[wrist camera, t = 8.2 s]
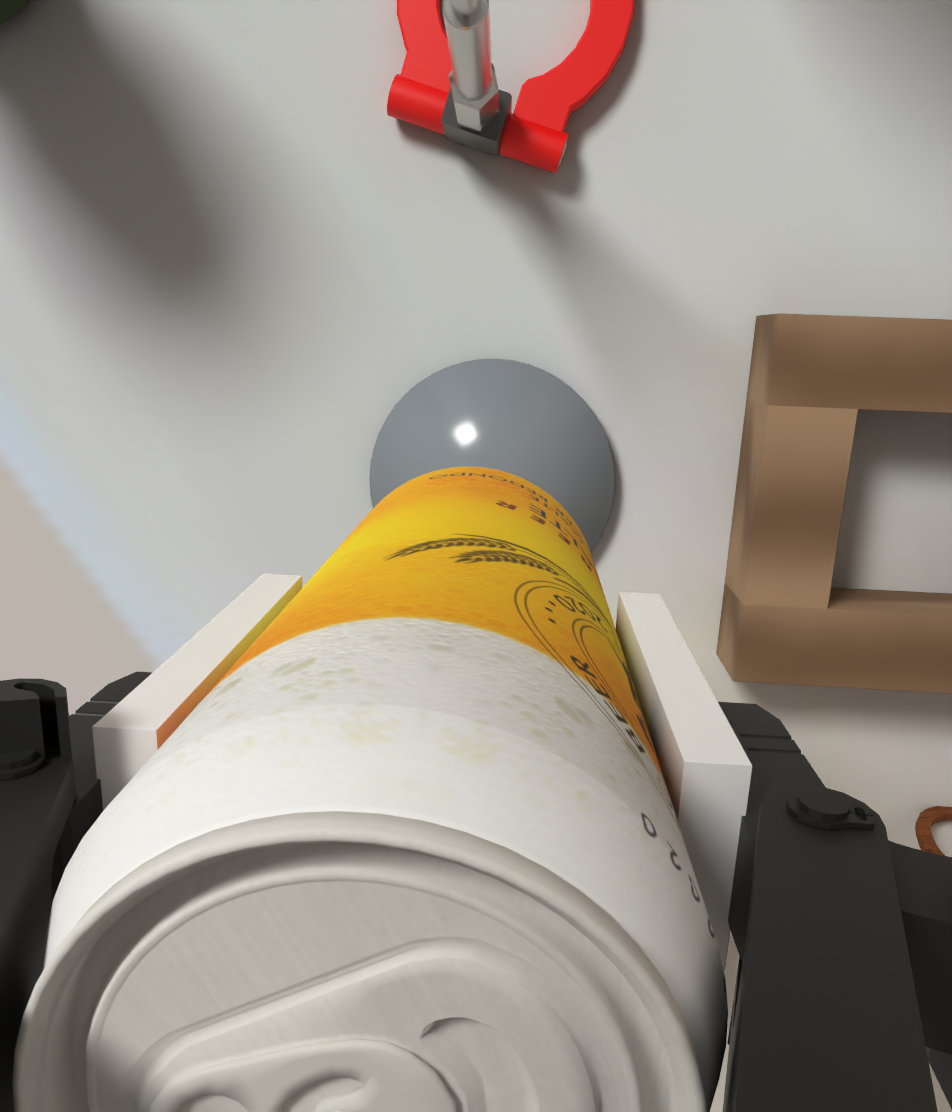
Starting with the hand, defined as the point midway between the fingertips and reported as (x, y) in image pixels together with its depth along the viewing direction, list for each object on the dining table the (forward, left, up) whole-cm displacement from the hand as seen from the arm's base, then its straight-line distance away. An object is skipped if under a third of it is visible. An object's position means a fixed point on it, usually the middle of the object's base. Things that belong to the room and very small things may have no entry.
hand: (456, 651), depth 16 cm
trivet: (0, 0, -19) cm, 19 cm away
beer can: (0, 0, -5) cm, 5 cm away
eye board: (0, +17, -19) cm, 25 cm away
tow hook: (-17, 0, -19) cm, 26 cm away
